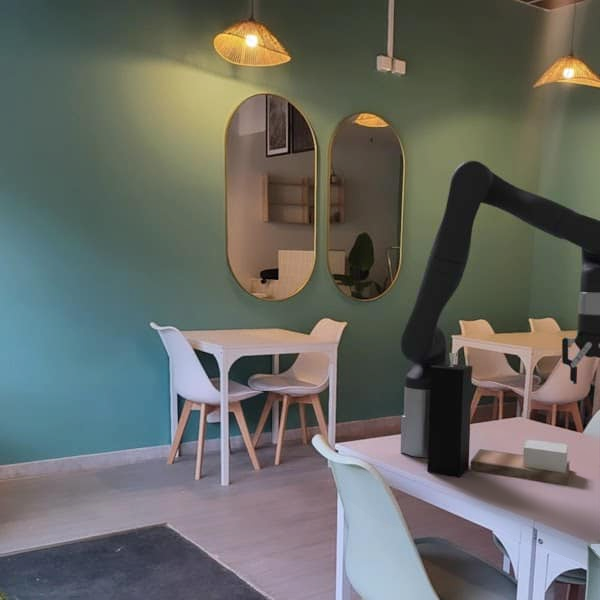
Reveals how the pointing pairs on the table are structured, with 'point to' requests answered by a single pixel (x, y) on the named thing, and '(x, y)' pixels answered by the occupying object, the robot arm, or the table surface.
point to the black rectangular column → (449, 418)
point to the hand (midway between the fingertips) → (593, 385)
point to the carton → (545, 456)
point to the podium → (514, 467)
